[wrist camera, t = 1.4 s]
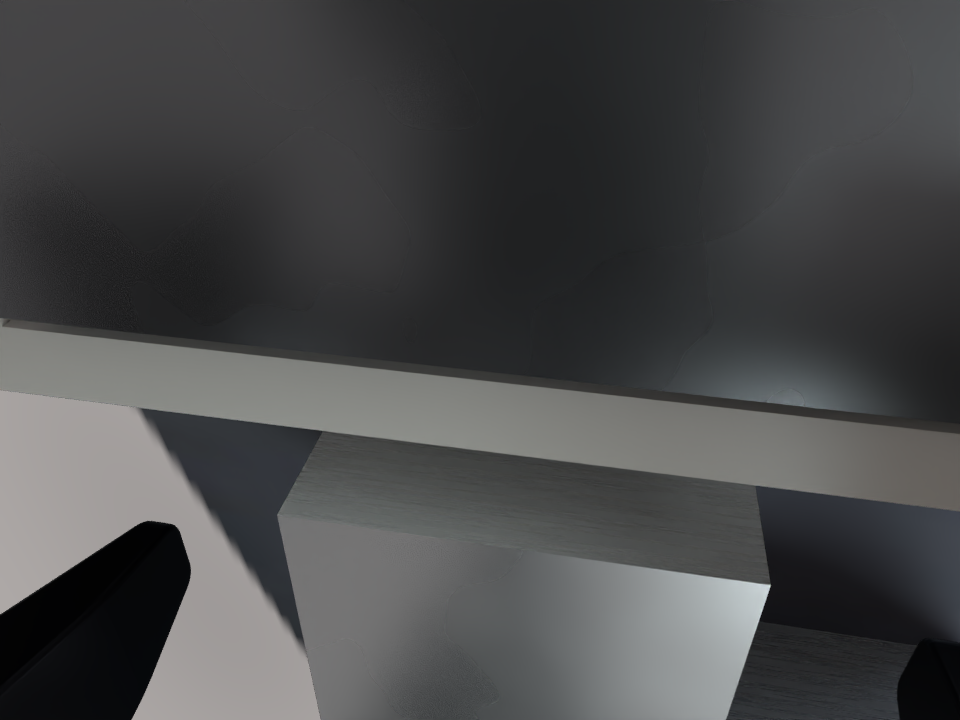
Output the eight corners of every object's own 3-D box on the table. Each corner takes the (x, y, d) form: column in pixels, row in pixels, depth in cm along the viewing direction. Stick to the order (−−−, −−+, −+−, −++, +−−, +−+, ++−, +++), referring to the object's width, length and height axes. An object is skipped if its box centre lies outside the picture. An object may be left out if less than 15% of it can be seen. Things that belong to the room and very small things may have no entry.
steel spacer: (678, 545, 13) (689, 830, 9) (416, 510, 13) (329, 762, 10) (728, 315, 10) (770, 584, 7) (402, 285, 11) (277, 514, 7)
